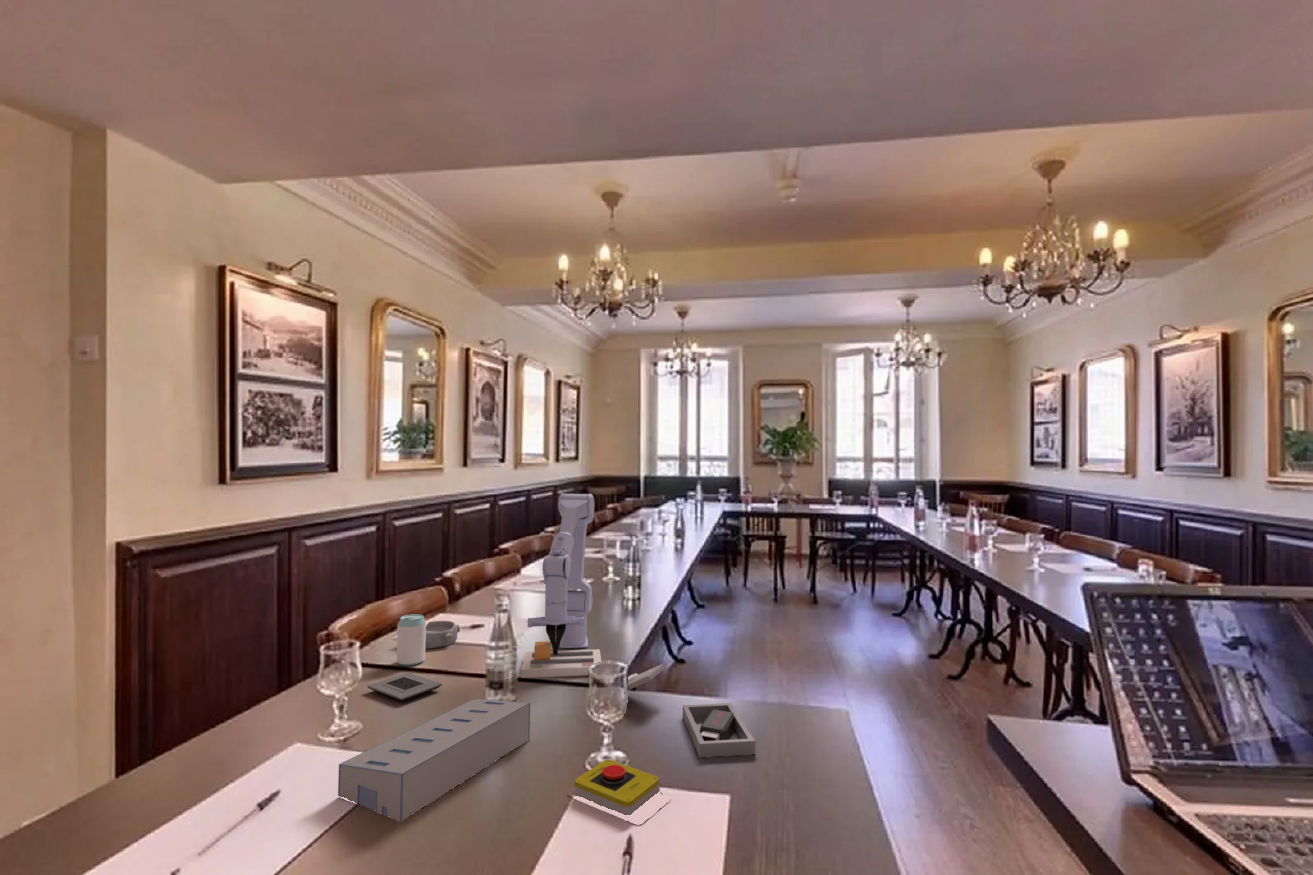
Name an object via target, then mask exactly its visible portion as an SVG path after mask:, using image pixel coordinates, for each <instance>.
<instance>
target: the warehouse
mask: <svg viewBox="0 0 1313 875" xmlns="http://www.w3.org/2000/svg"><path fill="white" fill-rule="evenodd" d="M530 730H531V702H526V701H511V700H510V701H509V700H497V699H496V700H495V699H481V698H473V699H471V700H468V701H466V702H465V703H463V704H460V705H459V706H456V707H454V708H453V709H451V710H448V711H446V712H443V713H442V714H440V715H438V716H436V717H434V718H432V719H429V720H428V721H425V722H424V723H421V724H419V725H417V726H415V727H413V728H411V729H409V730H407V731H405V732H403V733H401V734H399V735H397V736H394V737H392V738H391V739H389V740H386V741H384V742H382V743H379V744H378V745H376V746H374V747H372V748H370V749H368V750H365V751H364V752H361V753H360V754H357V755H355V756H353V757H351V758H349V759H347V760H345V761H343V762H340V763H339V764H338V781H337V782H338V786H337V787H338V788H337V789H338V791H337V797H338V796H340V797H344V798H347V799H348V800H350V801H354V802H355V803H357V804H360V805H362V806H361V807H363V806H365V807H367V808H366V809H368V808H370V809H372V810H371V811H373V810H376V812H379V813H382V814H385V815H386V816H390V817H392V818H393V819H395V820H397V821H396V822H398V821H400V822H399V824H401V823H403V822H404V821H405V820H404V819H406V818H407V819H409V818H410V817H411V816H410V815H412V814H413V813H415V812H416V811H417V810H420V809H421V808H422V807H424V806H426V805H427V804H429V803H430V802H432V801H434V802H436V799H437V798H438V799H440V798H442V797H443V796H444V795H443V794H444V793H446V792H448V791H449V790H451V789H452V788H453V787H456V786H457V785H458V784H460V783H462V782H463V781H465V780H466V779H467V778H470V777H471V776H472V775H474V774H476V773H477V772H479V771H480V770H481V769H483V768H485V767H486V766H488V765H490V764H491V763H493V762H494V761H495V760H498V759H499V758H500V757H502V756H503V755H505V754H507V753H508V752H510V751H512V750H513V751H515V750H516V749H515V748H517V747H518V746H520V747H521V746H523V745H524V744H526V743H527V742H530V741H529V740H530V737H531V734H530V732H531V731H530ZM525 742H526V743H525ZM522 744H523V745H522ZM518 748H519V747H518ZM518 748H517V749H518ZM514 749H515V750H514ZM513 751H512V752H513ZM510 753H511V752H510ZM507 755H508V754H507ZM499 760H500V759H499ZM499 760H498V761H499ZM493 764H494V763H493ZM490 766H491V765H490ZM488 767H489V766H488ZM485 769H486V768H485ZM479 773H480V772H479ZM476 775H477V774H476ZM474 776H475V775H474ZM471 778H472V777H471ZM471 778H470V779H471ZM465 782H466V781H465ZM463 783H464V782H463ZM463 783H462V784H463ZM460 785H461V784H460ZM457 787H458V786H457ZM457 787H456V788H457ZM451 791H452V790H451ZM449 792H450V791H449ZM449 792H448V793H449ZM446 794H447V793H446ZM442 795H443V796H442ZM441 796H442V797H441ZM439 797H440V798H439ZM438 799H437V800H438ZM432 803H433V802H432ZM360 805H359V806H360ZM429 805H430V804H429ZM365 807H364V808H365ZM426 807H427V806H426ZM424 808H425V807H424ZM370 809H369V810H370ZM421 810H422V809H421ZM421 810H420V811H421ZM376 812H375V813H376ZM415 814H416V813H415ZM385 815H384V816H385ZM386 816H385V817H386ZM409 816H410V817H409ZM412 816H413V815H412ZM408 817H409V818H408ZM393 819H392V820H393ZM407 819H406V820H407ZM395 820H394V821H395ZM403 820H404V821H403Z"/></svg>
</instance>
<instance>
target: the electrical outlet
mask: <svg viewBox="0 0 1313 875" xmlns="http://www.w3.org/2000/svg"><path fill="white" fill-rule="evenodd" d="M442 685H443V683H442V682H438V681H435V680H433V679H431V678H426V677H423V676H420V675H417V674H414V673H412V672H409V671H407V672H404V673H401V674H398V675H395V676H392V677H389V678H387V679H383V680H380V681H377V682H374V683H372V684H368V685H366V687H367V688H368V689H370V690H371V691H375V692H377V693H380V694H382V695H385V696H388V697H390V698H392V699H395V700H398V701H401V702H403V701H407V700H409V699H412V698H415V697H417V696H420V695H423V694H426V693H428V692H431V691H435V690H436V689H439V688H440V687H441V686H442Z"/></svg>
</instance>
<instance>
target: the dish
mask: <svg viewBox="0 0 1313 875" xmlns="http://www.w3.org/2000/svg"><path fill="white" fill-rule="evenodd" d="M460 628H461V627H460V625H459V624H456V623H455V622H454V621H451V620H433V621H429V622H427V623H426V642H425V649H435V648H436V649H437V648H441V647H442V646H443V647H446V646H447V647H448V646H450V645H451V644H454V641H455V642H456V641H457V640H458V633H460V632H461V629H460Z"/></svg>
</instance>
